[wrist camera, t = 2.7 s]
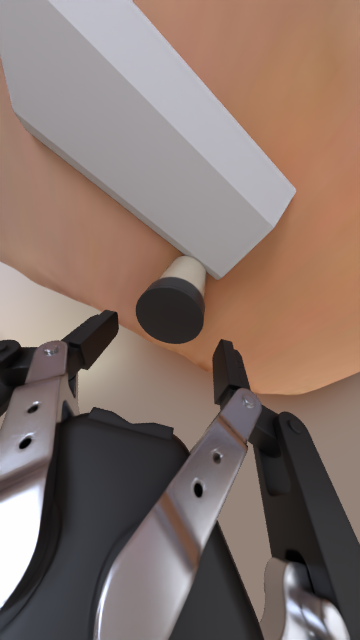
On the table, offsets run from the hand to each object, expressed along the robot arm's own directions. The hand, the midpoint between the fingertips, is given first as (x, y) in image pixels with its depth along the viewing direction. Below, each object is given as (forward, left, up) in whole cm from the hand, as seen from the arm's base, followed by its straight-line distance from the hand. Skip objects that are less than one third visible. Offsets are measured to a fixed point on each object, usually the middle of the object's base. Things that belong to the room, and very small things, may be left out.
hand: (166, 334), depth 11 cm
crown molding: (-6, +12, -15) cm, 20 cm away
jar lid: (0, -1, -3) cm, 4 cm away
